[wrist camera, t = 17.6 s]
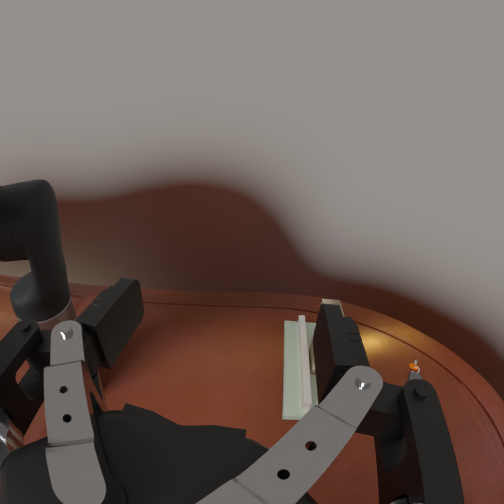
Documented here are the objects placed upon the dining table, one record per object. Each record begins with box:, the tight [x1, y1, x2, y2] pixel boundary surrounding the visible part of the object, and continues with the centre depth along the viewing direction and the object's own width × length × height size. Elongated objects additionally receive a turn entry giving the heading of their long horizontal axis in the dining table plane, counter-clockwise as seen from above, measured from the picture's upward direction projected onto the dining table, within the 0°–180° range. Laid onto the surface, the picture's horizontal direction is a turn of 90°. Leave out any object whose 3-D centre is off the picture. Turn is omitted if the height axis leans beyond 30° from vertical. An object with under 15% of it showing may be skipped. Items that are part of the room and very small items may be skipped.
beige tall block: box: [309, 299, 345, 375], centre depth 43 cm, size 3×6×12 cm, turn 174°
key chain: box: [408, 360, 422, 381], centre depth 43 cm, size 13×4×2 cm, turn 159°
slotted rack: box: [282, 315, 318, 420], centre depth 45 cm, size 24×12×4 cm, turn 174°
